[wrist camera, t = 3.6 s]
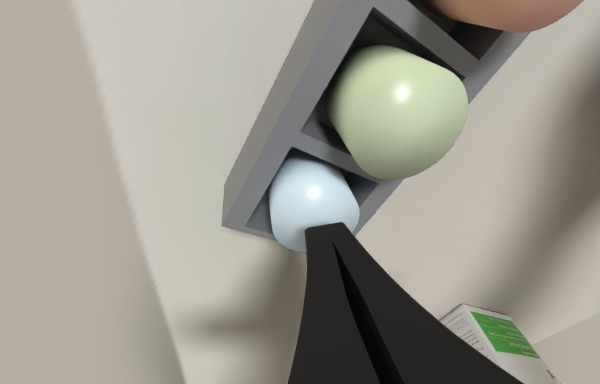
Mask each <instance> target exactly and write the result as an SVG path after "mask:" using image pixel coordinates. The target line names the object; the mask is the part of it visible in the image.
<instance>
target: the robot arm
mask: <svg viewBox="0 0 600 384" xmlns="http://www.w3.org/2000/svg"><path fill="white" fill-rule="evenodd" d="M305 242H306V255H307V282H306V291H305V299H304V307H303V314H302V320H301V326H300V331H299V337H298V342H297V347H296V351H295V356H294V360H293V365H292V369H291V373H290V377H289V381H288V384H524V383H523V382H521V381H520V380H518V379H517V378H515V377H514V376H512V375H511V374H510V373H508V372H507V371H505V370H504V369H502V368H501V367H499V366H498V365H496V364H495V363H494V362H492V361H491V360H490V359H488V358H487V357H485V356H484V355H483V354H481V353H480V352H479V351H477V350H476V349H475V348H473V347H472V346H471V345H469V344H468V343H467V342H465V341H464V340H463V339H461V338H460V337H458V336H457V335H456V334H455V333H453V332H452V331H451V330H450V329H448V328H447V327H446V326H445V325H443V324H442V323H441V322H440V321H438V320H437V319H436V318H435V317H434V316H433V315H431V314H430V313H429V312H428V311H427V310H425V309H424V308H423V307H422V306H421V305H420V304H419V303H418V302H416V301H415V300H414V299H413V298H412V297H411V296H410V295H409V294H408V293H407V292H406V291H405V290H404V289H402V288H401V287H400V286H399V285H398V284H397V283H396V282H395V281H394V280H393V279H392V278H391V277H390V276H389V275H388V274H387V273H386V272H385V271H384V269H383V268H382V267H381V266H380V265H379V264H378V263H377V262H376V261H375V260H374V259H373V258H372V257H371V255H370V254H369V253H368V252H367V251H366V250H365V249H364V247H363V246H362V245H361V244H360V243H359V241H358V240H357V239H356V238H355V236H354V235H353V234H352V233H351V231H350V230H349V229H348V227H347V226H346V225H345V224H344V223H343V222H338V223H332V224H326V225H320V226H313V227H308V228H307V229H305Z"/></svg>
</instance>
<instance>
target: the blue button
mask: <svg viewBox="0 0 600 384" xmlns="http://www.w3.org/2000/svg"><path fill="white" fill-rule="evenodd" d="M267 192H268V200H269V208H270V216H271V224H272V230H273V234H274V236H275V238H276V239H277V241H278V242H279V243H280V244H281V245H283V246H284V247H286V248H288V249H290V250H293V251H297V252H304V253H306V242H305V229H307V228H308V227H313V226H320V225H326V224H332V223H338V222H343V223H344V224H345V225H346V226H347V227H348V229H349V230H350V231H351V233H352V232H353V231H354V229H355V227H356V226H357V223H358V220H359V214H360V212H359V206H358V204H357V202H356V200H355V198H354V196H353V194H352V192H351V190H350V188H349V186H348V184H347V182H346V180H345V178H344V176H343V174H342V173H341V171H340V169H339V167H338V166H337V165H334V164H332V163H330V162H327V161H325V160H323V159H320V158H318V157H316V156H313V155H311V154H309V153H307V152H304V151H302V150H300V149H297V148H294V149H291V150H289V152H288V153H287V155H286V157H285V159H284V160H283V162H282V164H281V165H280V167H279V169H278V170H277V172H276V174H275V176H274V177H273V179H272V181H271V182H270V184H269V186H268V188H267Z"/></svg>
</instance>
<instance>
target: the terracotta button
mask: <svg viewBox="0 0 600 384" xmlns="http://www.w3.org/2000/svg"><path fill="white" fill-rule="evenodd" d="M420 1H421V2H422V4H423V5H424V7H425V8H426V9H427V10H428V11H430V12H431V13H432V14H434V15H436V16H438V17H442V18H446V19H451V20H456V21H461V22H465V23H470V24H475V25H480V26H485V27H490V28H494V29H499V30H504V31H509V32H515V33H524V32H531V31H535V30H539V29H541V28H544V27H546V26H548V25H550V24H552V23H554V22H556V21H558V20H559V19H561V18H562V17H564V16H565V15H567V14H568V13H569V12H571V11H572V10H573V9H575V8H576V7H577V6H578V5H579V4H580V3H581V2H583V1H584V0H420Z"/></svg>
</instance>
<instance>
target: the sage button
mask: <svg viewBox="0 0 600 384" xmlns="http://www.w3.org/2000/svg"><path fill="white" fill-rule="evenodd" d="M326 110H327V114H328V117H329V119H330V121H331V122H332V124H333V126H334V127H335V129H336V130H337V132H338V134H339V135H340V137H341V138H342V140H343V142H344V143H345V145H346V146H347V148H348V150H349V151H350V153H351V154H352V156H353V158H354V159H355V161H356V162H357V164H358V165H359V167H360V168H361V169H362V170H363V171H365V172H366V173H368V174H369V175H371V176H373V177H376V178H380V179H386V180H397V179H403V178H407V177H411V176H413V175H416V174H418V173H420V172H422V171H424V170H426V169H428V168H429V167H431V166H432V165H434V164H435V163H436V162H438V161H439V160H440V159H441V158H442V157H443V156H444V155H445V154H446V153H447V152H448V151H449V150H450V149H451V147H452V146H453V145H454V143H455V142H456V141H457V139H458V137H459V135H460V134H461V132H462V129H463V127H464V124H465V121H466V118H467V112H468V98H467V93H466V90H465V87H464V85H463V83H462V82H461V81H460V79H459V78H458V77H457V76H456V75H455V74H454V73H452V72H451V71H449V70H447V69H445V68H443V67H441V66H438V65H436V64H434V63H432V62H430V61H427V60H425V59H423V58H421V57H419V56H416V55H414V54H412V53H410V52H407V51H405V50H403V49H401V48H399V47H396V46H394V45H391V44H386V43H377V44H371V45H367V46H364V47H362V48H359V49H358V50H356V51H354V52H352V53H351V54H350V55H348V56H347V57H346V58H345V59H344V60H343V61H342V62H341V63H340V64H339V66H338V68H337V69H336V71H335V73H334V75H333V76H332V78H331V80H330V81H329V84H328V87H327V91H326Z"/></svg>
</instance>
